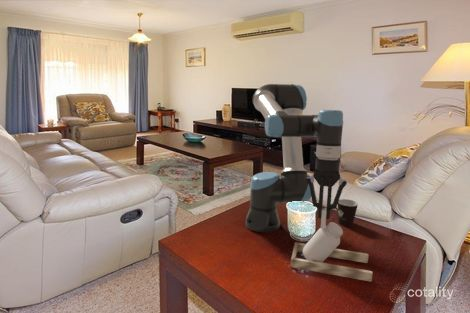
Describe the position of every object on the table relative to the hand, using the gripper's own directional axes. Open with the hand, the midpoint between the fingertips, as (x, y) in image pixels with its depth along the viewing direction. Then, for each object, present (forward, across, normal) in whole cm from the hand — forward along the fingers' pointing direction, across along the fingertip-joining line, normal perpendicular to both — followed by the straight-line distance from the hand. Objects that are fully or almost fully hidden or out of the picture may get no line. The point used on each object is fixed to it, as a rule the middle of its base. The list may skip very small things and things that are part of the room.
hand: (323, 227), depth 104 cm
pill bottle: (+12, -3, +3) cm, 13 cm away
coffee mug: (+12, +9, +42) cm, 44 cm away
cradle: (+14, +3, +3) cm, 15 cm away
